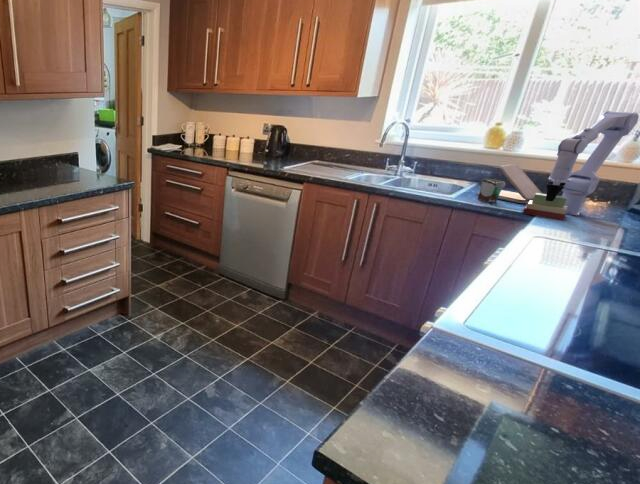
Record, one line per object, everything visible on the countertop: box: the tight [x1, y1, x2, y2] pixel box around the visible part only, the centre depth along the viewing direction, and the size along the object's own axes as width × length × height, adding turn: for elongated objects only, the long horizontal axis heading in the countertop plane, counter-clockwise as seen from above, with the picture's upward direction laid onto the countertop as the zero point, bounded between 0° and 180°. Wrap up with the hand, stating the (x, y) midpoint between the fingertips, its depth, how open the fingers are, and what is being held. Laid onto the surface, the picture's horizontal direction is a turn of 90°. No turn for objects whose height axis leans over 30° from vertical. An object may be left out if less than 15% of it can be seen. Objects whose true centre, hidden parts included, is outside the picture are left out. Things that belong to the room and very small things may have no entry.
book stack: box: [522, 200, 567, 221], centre depth 184 cm, size 11×13×4 cm
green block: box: [532, 192, 567, 208], centre depth 183 cm, size 5×10×4 cm, turn 44°
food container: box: [476, 177, 506, 204], centre depth 203 cm, size 12×6×10 cm, turn 168°
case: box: [476, 163, 543, 204], centre depth 211 cm, size 20×21×16 cm
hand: (549, 199), depth 182 cm, fingers open, 7 cm apart
